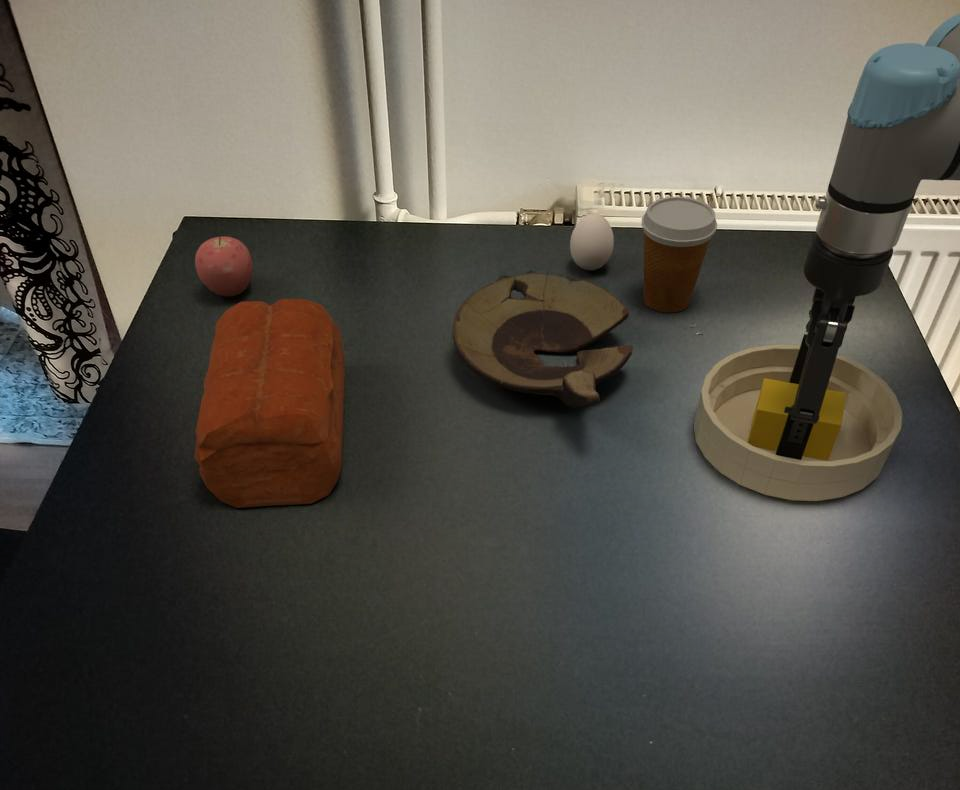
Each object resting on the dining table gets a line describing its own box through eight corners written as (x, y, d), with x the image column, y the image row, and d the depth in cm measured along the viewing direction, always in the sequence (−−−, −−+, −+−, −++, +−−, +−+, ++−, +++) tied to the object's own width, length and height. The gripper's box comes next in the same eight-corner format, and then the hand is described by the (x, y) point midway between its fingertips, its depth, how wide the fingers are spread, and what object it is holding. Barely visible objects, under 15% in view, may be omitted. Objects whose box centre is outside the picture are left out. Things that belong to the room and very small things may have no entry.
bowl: (888, 402, 107) (905, 363, 103) (879, 523, 94) (898, 484, 90) (709, 370, 111) (718, 331, 107) (677, 481, 99) (686, 442, 94)
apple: (265, 279, 125) (253, 224, 119) (249, 308, 121) (235, 252, 115) (214, 276, 126) (200, 220, 120) (197, 304, 122) (181, 248, 115)
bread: (202, 511, 96) (174, 433, 88) (226, 366, 113) (205, 288, 105) (345, 503, 97) (331, 425, 89) (349, 359, 113) (337, 282, 105)
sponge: (832, 428, 103) (845, 392, 99) (827, 461, 100) (841, 425, 96) (754, 413, 105) (764, 377, 101) (747, 445, 101) (757, 409, 98)
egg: (598, 283, 124) (604, 230, 118) (560, 271, 126) (564, 218, 120) (618, 264, 127) (624, 211, 121) (580, 252, 129) (585, 200, 123)
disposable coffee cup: (624, 312, 119) (635, 225, 110) (639, 276, 125) (651, 190, 116) (694, 325, 117) (712, 236, 108) (707, 287, 123) (725, 200, 114)
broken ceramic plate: (629, 310, 120) (636, 256, 114) (628, 456, 101) (637, 400, 95) (465, 302, 121) (464, 248, 115) (435, 443, 103) (431, 388, 97)
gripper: (824, 175, 92) (773, 354, 109) (800, 302, 77) (745, 485, 94) (900, 185, 90) (836, 365, 107) (889, 317, 76) (818, 500, 93)
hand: (794, 421), depth 101 cm, fingers open, 13 cm apart
